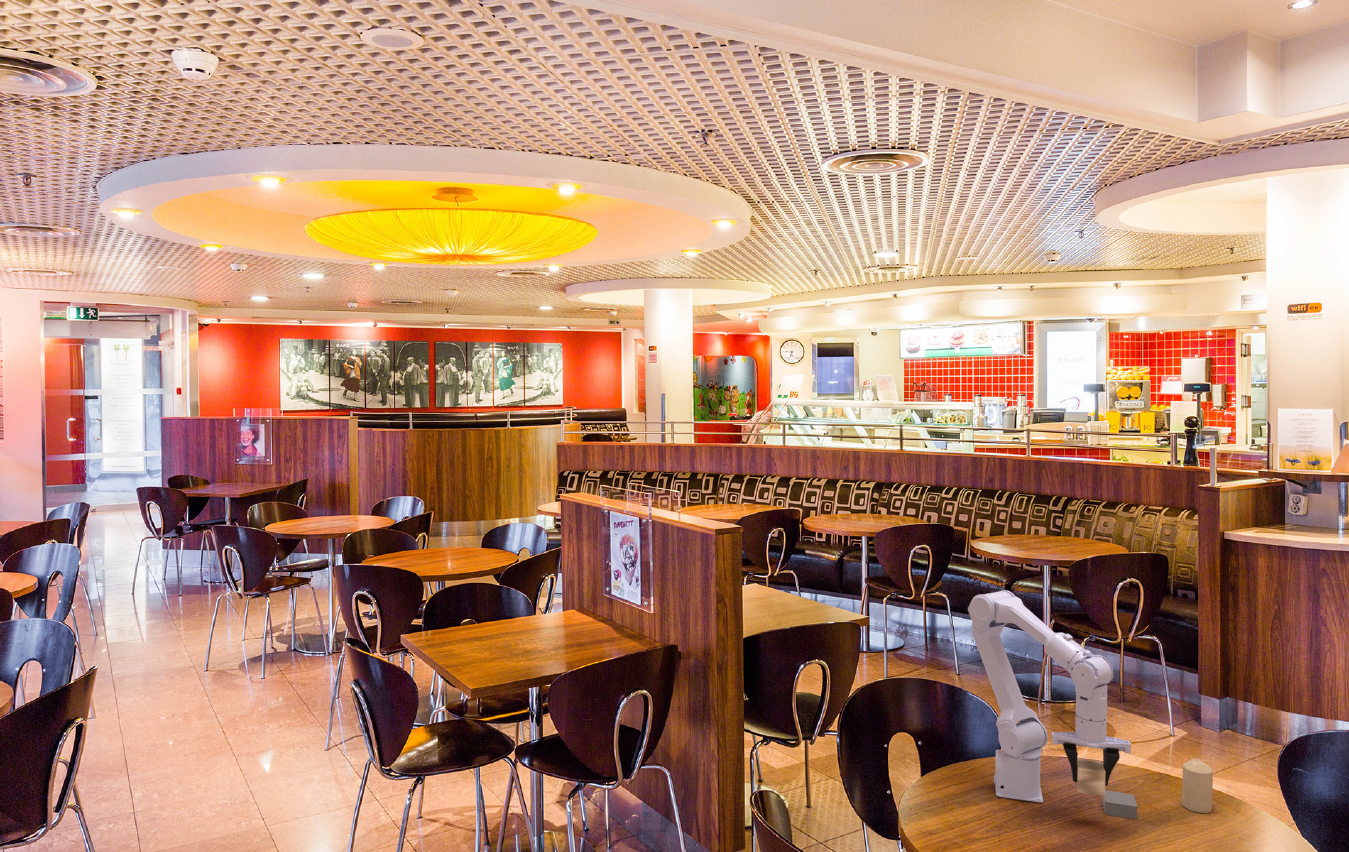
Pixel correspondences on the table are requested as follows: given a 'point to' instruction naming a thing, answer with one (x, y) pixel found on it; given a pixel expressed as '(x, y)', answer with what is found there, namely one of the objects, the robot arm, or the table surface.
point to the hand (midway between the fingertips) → (1089, 782)
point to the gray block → (1119, 804)
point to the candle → (1197, 786)
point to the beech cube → (1090, 777)
